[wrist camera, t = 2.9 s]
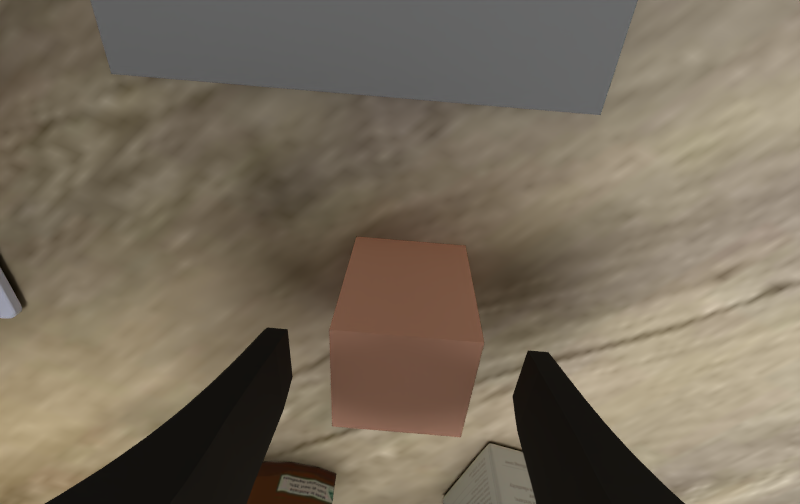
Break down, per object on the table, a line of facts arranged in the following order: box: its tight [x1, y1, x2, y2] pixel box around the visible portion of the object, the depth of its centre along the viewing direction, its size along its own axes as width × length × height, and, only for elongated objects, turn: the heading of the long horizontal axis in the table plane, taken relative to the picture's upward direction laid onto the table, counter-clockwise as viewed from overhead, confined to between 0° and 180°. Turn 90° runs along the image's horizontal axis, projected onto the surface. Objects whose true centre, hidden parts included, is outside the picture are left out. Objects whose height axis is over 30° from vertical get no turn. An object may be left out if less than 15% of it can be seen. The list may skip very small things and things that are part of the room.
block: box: [329, 237, 484, 437], centre depth 13 cm, size 4×4×5 cm
